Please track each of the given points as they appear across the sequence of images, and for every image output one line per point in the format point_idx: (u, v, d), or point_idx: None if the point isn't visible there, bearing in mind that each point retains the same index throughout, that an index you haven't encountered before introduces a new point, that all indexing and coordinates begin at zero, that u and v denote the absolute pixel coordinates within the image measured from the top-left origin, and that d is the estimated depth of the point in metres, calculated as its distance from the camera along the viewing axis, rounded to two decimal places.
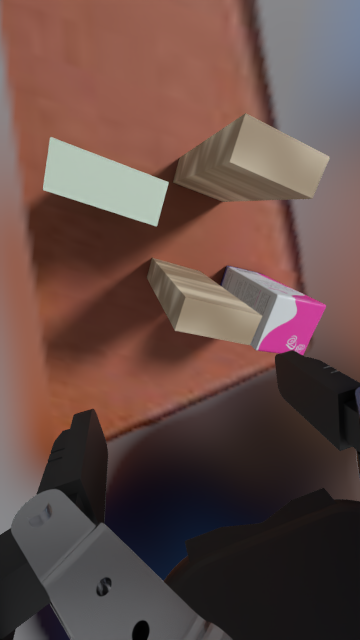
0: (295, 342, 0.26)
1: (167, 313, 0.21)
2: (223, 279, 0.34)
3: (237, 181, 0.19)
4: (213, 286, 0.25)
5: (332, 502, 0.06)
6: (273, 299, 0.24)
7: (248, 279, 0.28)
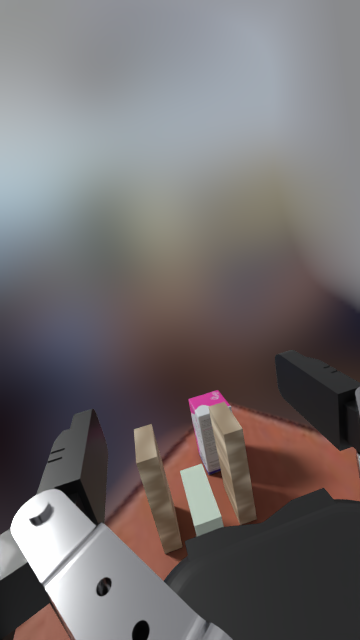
0: (213, 396, 0.46)
1: (244, 447, 0.34)
2: (218, 469, 0.45)
3: (161, 465, 0.34)
4: (219, 452, 0.39)
5: (332, 502, 0.06)
6: (201, 417, 0.42)
7: (204, 445, 0.43)
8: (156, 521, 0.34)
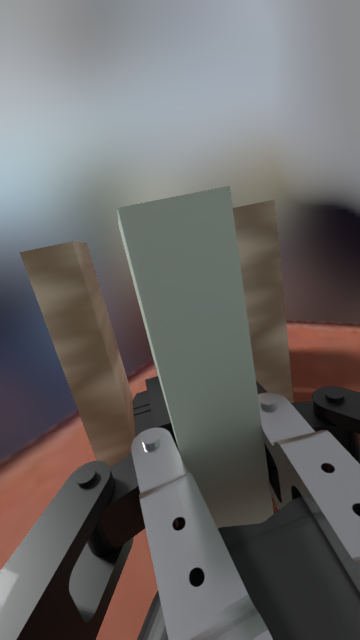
0: None
1: (276, 253, 0.15)
2: None
3: (97, 303, 0.16)
4: None
5: None
6: None
7: None
8: (85, 418, 0.15)
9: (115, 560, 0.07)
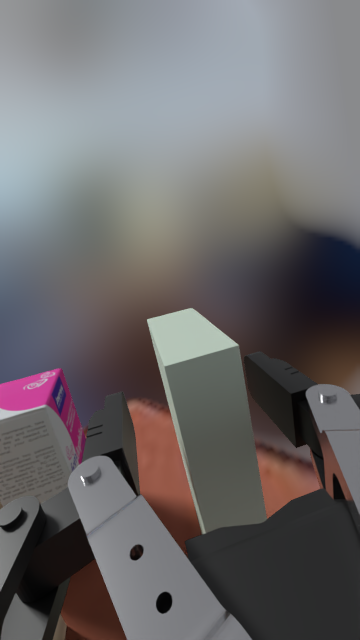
0: (36, 381, 0.19)
1: None
2: None
3: None
4: None
5: (332, 502, 0.06)
6: None
7: None
8: None
9: (52, 600, 0.06)
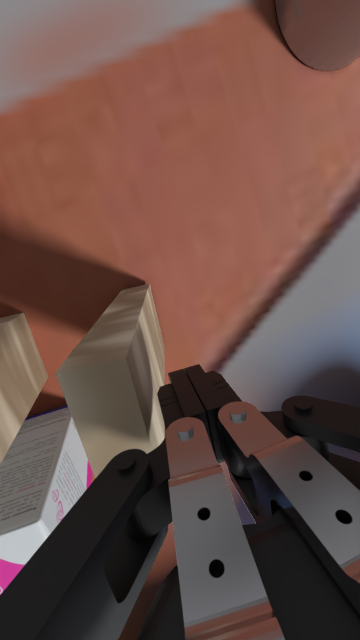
0: None
1: None
2: (57, 410, 0.24)
3: None
4: (6, 420, 0.16)
5: None
6: (30, 519, 0.15)
7: (60, 448, 0.19)
8: (142, 298, 0.18)
9: (149, 548, 0.07)
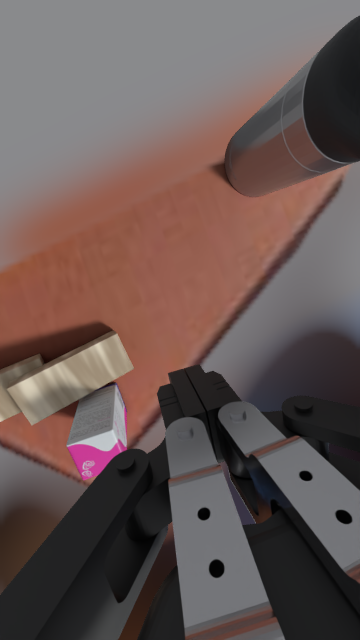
0: (89, 467, 0.33)
1: None
2: (105, 387, 0.42)
3: None
4: None
5: None
6: (108, 429, 0.32)
7: (113, 404, 0.37)
8: (77, 352, 0.37)
9: (149, 548, 0.07)
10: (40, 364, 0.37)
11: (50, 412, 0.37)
